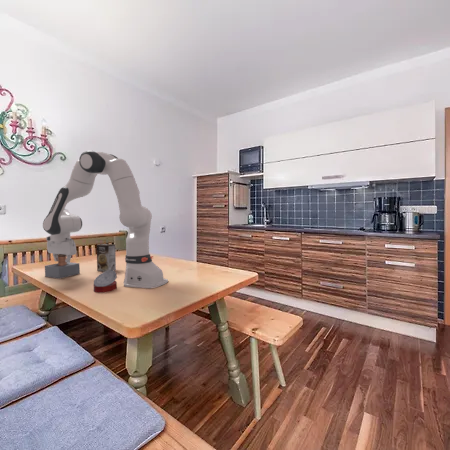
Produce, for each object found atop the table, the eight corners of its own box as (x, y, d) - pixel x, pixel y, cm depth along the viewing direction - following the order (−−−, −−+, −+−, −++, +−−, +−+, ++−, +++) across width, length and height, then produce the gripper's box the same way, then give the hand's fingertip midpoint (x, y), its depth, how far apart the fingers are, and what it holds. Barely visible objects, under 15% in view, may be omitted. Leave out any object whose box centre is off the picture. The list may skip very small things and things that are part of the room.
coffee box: (96, 270, 154) (95, 244, 153) (104, 268, 160) (104, 243, 159) (108, 272, 151) (107, 245, 150) (116, 269, 157) (115, 243, 156)
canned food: (117, 298, 119) (122, 281, 116) (94, 301, 112) (99, 283, 109) (110, 282, 127) (115, 266, 123) (88, 284, 120) (93, 267, 116)
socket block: (79, 273, 147) (79, 263, 147) (59, 278, 136) (58, 267, 136) (66, 271, 152) (65, 261, 152) (45, 276, 141) (44, 265, 141)
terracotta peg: (68, 274, 145) (67, 253, 145) (61, 276, 142) (60, 255, 141) (64, 273, 147) (63, 253, 146) (57, 275, 143) (56, 254, 142)
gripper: (79, 237, 142) (80, 262, 143) (55, 236, 150) (56, 259, 151) (68, 239, 136) (69, 264, 137) (44, 237, 144) (45, 261, 145)
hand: (62, 261), depth 144 cm, fingers open, 8 cm apart
